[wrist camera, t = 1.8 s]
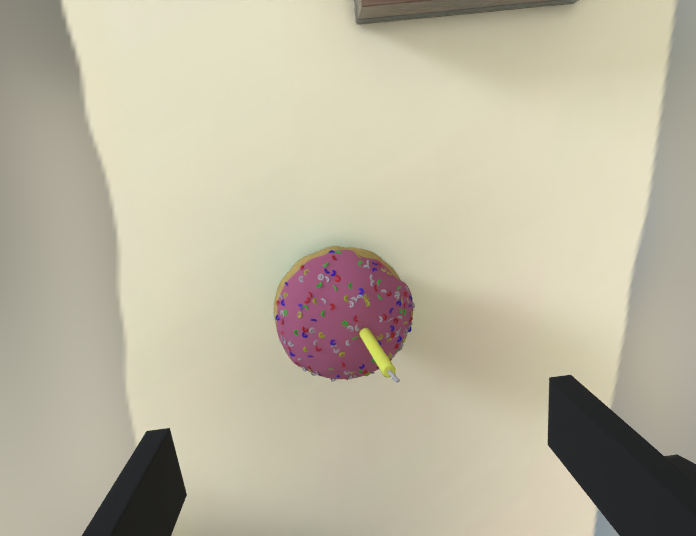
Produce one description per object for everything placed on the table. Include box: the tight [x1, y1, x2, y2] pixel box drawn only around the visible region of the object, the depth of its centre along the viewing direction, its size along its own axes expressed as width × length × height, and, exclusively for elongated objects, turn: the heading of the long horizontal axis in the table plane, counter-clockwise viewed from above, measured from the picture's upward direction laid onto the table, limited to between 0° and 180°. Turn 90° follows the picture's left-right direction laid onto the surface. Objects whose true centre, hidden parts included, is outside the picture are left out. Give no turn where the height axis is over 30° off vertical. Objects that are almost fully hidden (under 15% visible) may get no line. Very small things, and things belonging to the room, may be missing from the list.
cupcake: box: [274, 246, 415, 382], centre depth 25 cm, size 9×8×12 cm
